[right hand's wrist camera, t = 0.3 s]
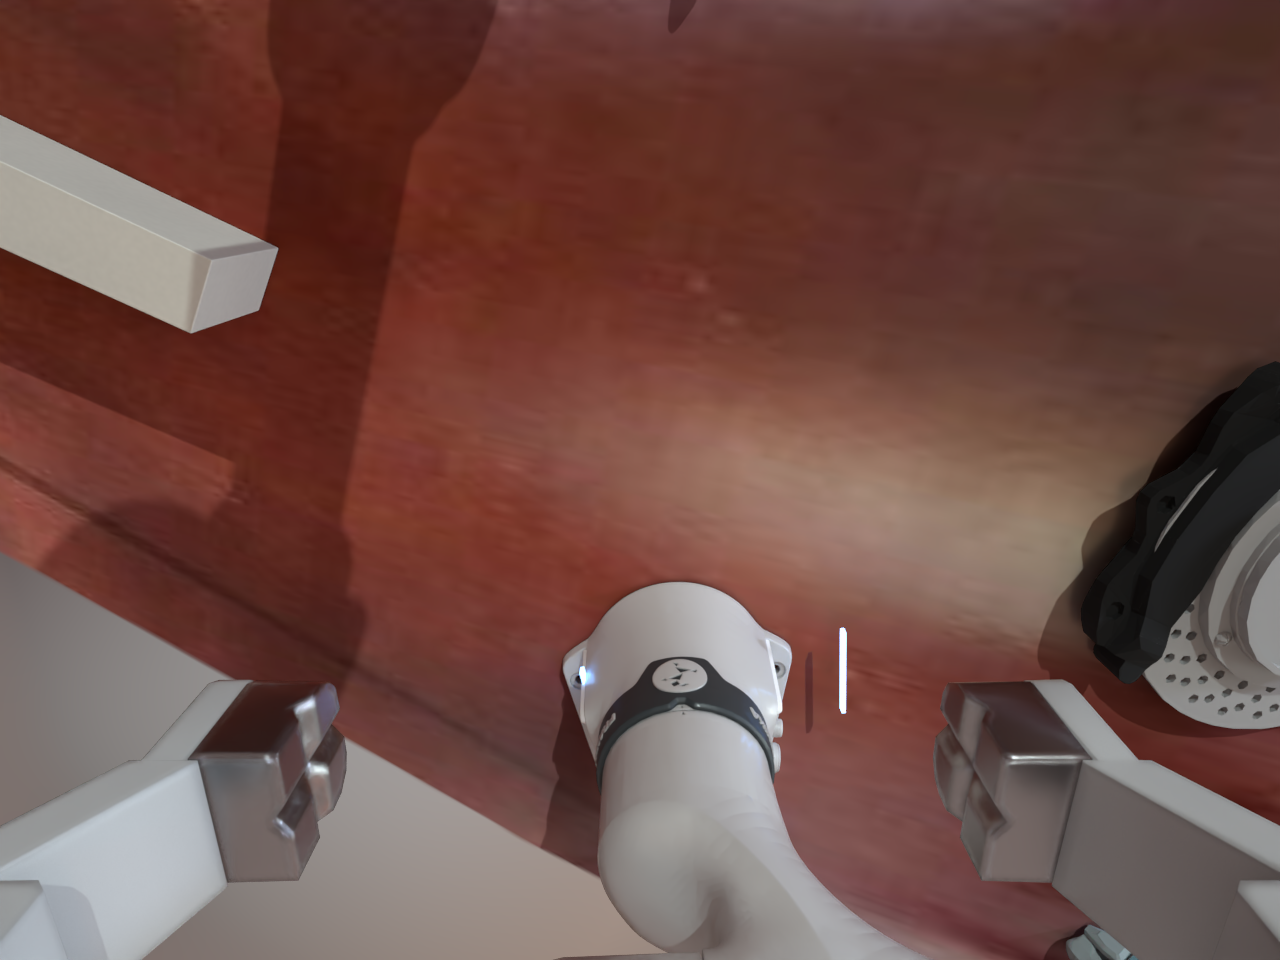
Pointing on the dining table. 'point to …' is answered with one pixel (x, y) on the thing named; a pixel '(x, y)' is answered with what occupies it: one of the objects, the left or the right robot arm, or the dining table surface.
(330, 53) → the dining table surface
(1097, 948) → the toy gun
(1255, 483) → the brake disc
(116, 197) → the bar
